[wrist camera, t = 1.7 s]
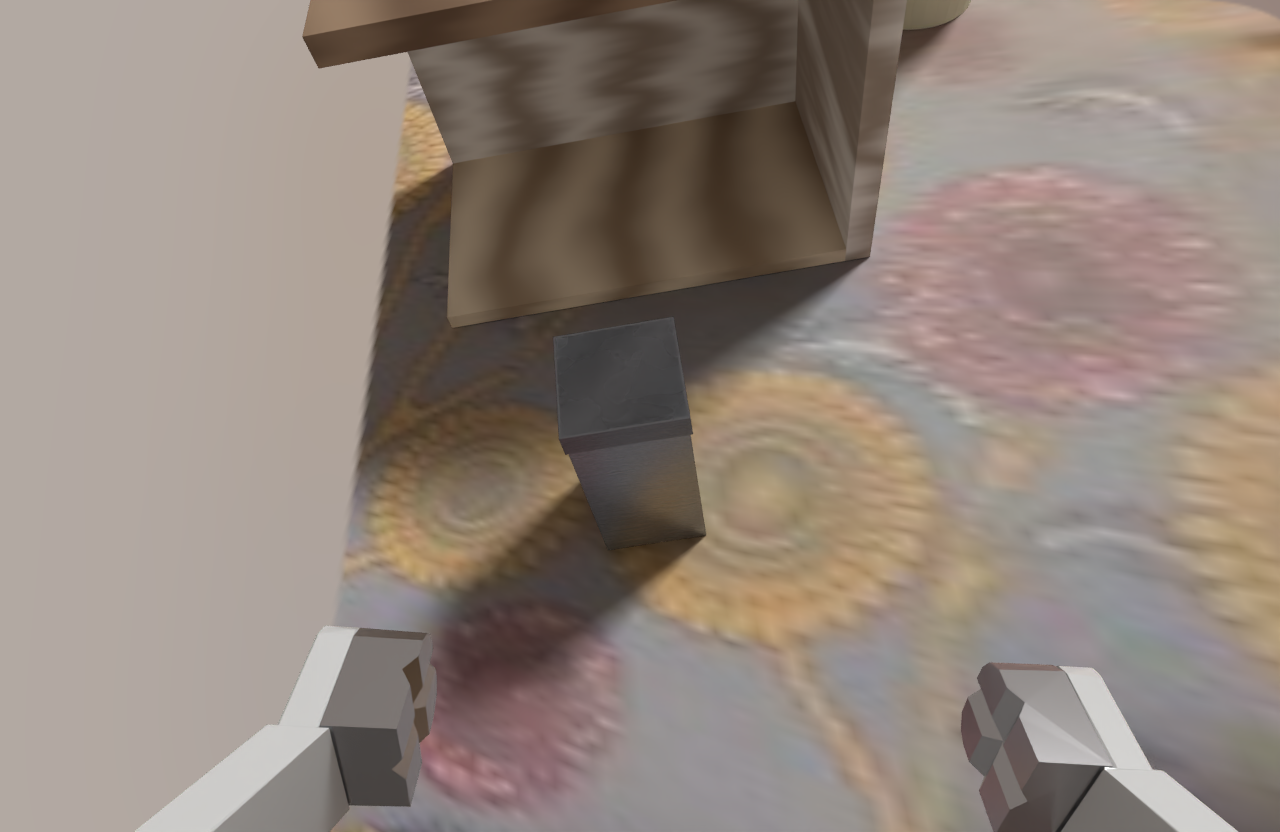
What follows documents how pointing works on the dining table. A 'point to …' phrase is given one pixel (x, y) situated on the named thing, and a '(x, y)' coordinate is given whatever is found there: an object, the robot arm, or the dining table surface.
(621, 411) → the tea tin
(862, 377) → the dining table surface
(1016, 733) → the robot arm
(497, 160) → the wooden cubby shelf
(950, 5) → the reusable coffee cup
